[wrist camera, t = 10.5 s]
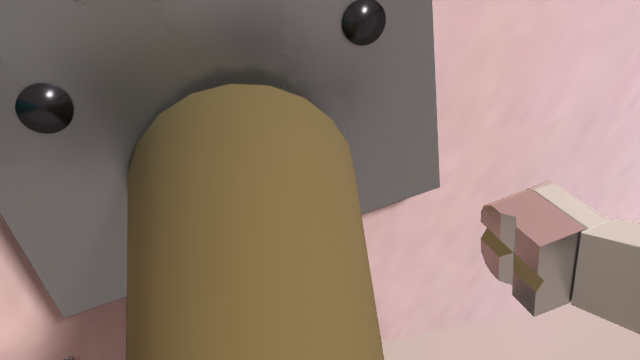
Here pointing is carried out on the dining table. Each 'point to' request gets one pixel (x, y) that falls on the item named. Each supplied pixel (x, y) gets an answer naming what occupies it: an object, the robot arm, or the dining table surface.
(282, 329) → the cork
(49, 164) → the flange plate
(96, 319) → the dining table surface
